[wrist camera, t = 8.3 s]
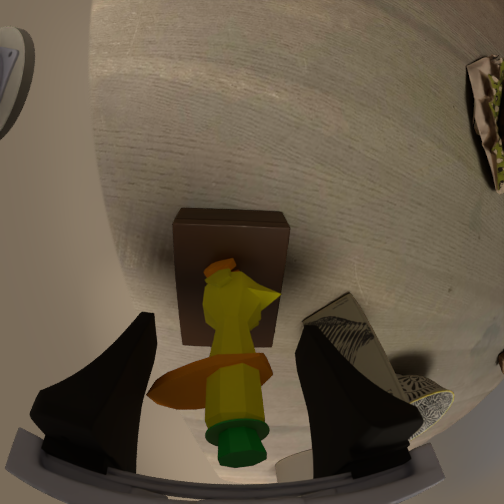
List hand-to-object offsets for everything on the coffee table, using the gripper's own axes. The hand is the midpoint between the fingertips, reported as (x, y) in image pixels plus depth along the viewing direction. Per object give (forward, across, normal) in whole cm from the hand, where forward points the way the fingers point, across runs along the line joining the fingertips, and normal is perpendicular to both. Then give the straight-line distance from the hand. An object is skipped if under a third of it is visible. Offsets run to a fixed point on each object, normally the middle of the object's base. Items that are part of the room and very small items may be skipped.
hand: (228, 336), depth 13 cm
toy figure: (+6, 0, 0) cm, 6 cm away
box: (+9, -10, +6) cm, 14 cm away
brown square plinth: (+8, 0, +2) cm, 9 cm away
